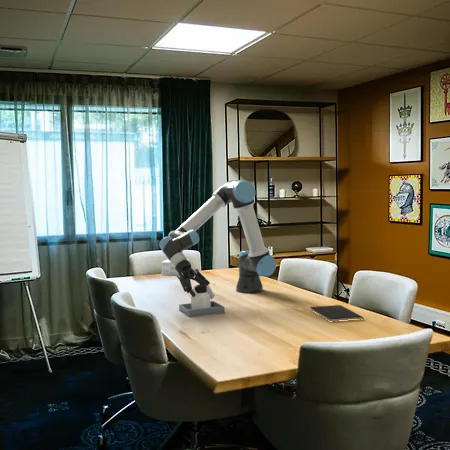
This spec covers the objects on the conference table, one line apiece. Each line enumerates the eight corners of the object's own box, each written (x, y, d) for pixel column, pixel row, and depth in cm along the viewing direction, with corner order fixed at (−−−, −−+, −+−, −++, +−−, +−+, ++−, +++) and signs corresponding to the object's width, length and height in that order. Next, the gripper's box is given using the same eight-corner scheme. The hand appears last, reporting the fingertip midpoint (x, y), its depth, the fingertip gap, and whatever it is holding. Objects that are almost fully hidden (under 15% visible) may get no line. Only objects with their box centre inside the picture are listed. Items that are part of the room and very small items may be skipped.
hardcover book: (329, 323, 226) (329, 318, 226) (310, 311, 248) (310, 306, 248) (363, 321, 229) (363, 316, 229) (341, 309, 252) (341, 304, 251)
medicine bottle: (210, 308, 252) (209, 283, 250) (205, 312, 245) (204, 287, 244) (197, 307, 254) (196, 283, 253) (191, 311, 247) (190, 286, 246)
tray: (213, 306, 260) (213, 300, 259) (224, 312, 247) (224, 306, 246) (179, 310, 253) (179, 304, 252) (188, 316, 240) (188, 310, 240)
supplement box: (190, 272, 366) (190, 259, 365) (185, 275, 353) (185, 262, 352) (167, 272, 369) (167, 258, 368) (161, 275, 356) (161, 261, 355)
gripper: (191, 265, 266) (216, 299, 258) (161, 271, 249) (186, 308, 240) (199, 256, 263) (225, 290, 254) (169, 261, 245) (195, 298, 237)
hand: (206, 299), depth 247 cm, fingers open, 10 cm apart
